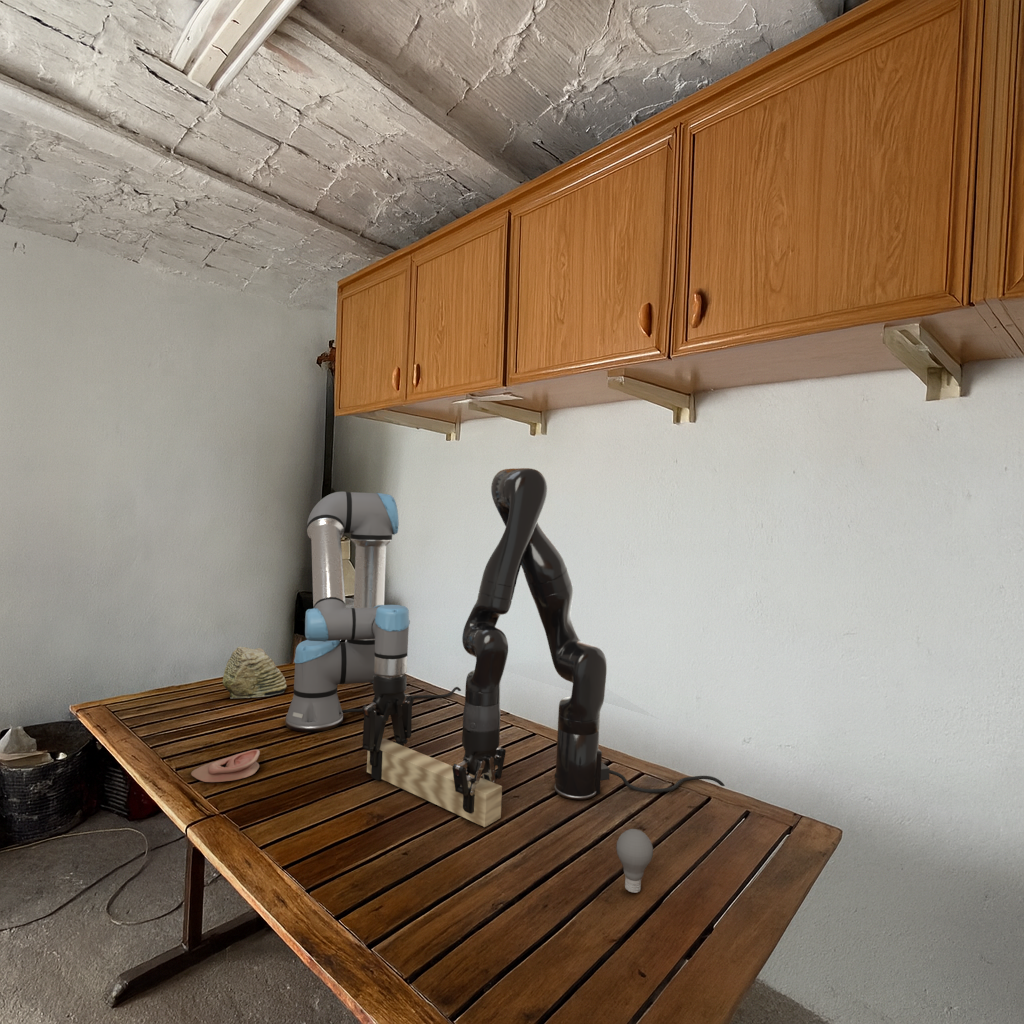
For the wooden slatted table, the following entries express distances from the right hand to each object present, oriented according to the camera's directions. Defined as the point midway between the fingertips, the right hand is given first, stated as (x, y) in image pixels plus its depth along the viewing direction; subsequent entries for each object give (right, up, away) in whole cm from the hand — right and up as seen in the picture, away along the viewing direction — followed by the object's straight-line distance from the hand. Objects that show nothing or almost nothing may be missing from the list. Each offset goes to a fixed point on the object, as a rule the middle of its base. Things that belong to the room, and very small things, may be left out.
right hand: (478, 806), depth 128 cm
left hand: (-22, -1, +18) cm, 28 cm away
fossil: (-74, +2, +70) cm, 102 cm away
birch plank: (-11, -1, +9) cm, 14 cm away
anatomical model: (-58, 0, +15) cm, 60 cm away
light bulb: (+27, -4, -22) cm, 35 cm away
